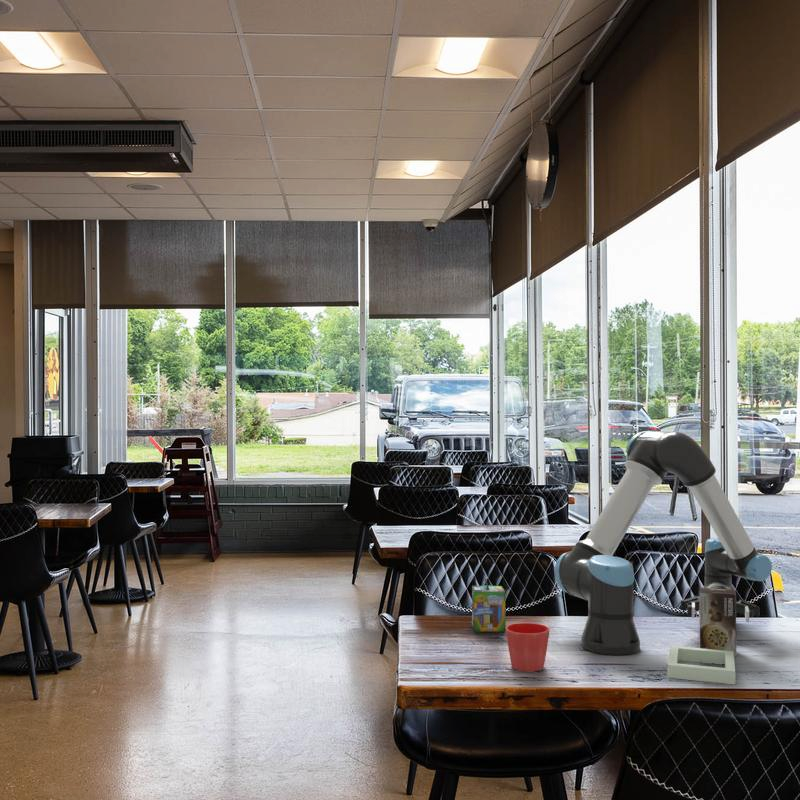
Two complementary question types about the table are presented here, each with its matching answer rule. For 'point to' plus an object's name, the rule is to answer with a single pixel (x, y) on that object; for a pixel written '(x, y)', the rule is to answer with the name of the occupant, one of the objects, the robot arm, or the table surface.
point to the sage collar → (701, 672)
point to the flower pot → (527, 645)
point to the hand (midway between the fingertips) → (720, 614)
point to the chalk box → (488, 608)
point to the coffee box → (718, 619)
